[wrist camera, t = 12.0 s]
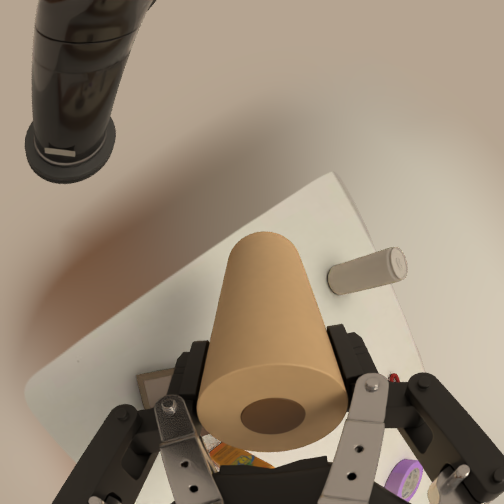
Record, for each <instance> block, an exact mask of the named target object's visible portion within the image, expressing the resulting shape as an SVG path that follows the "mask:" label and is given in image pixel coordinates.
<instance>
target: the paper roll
mask: <svg viewBox="0 0 504 504" xmlns="http://www.w3.org/2000/svg"><path fill="white" fill-rule="evenodd" d="M347 408H348V395H347V392H346V388H345V385H344V382H343V379H342V376H341V373H340V370H339V367H338V364H337V360H336V357H335V354H334V351H333V348H332V345H331V342H330V340H329V337H328V334H327V331H326V328H325V325H324V322H323V319H322V316H321V313H320V311H319V308H318V305H317V302H316V299H315V296H314V294H313V291H312V288H311V285H310V283H309V280H308V277H307V274H306V272H305V269H304V266H303V264H302V261H301V258H300V256H299V253H298V251H297V249H296V248H295V246H294V245H293V244H292V243H291V242H290V241H289V240H288V239H287V238H285V237H284V236H282V235H280V234H277V233H273V232H257V233H253V234H250V235H248V236H246V237H244V238H243V239H241V240H240V241H239V242H238V243H237V244H236V245H235V246H234V248H233V249H232V251H231V253H230V255H229V259H228V263H227V267H226V272H225V276H224V280H223V285H222V289H221V294H220V298H219V302H218V307H217V311H216V316H215V321H214V325H213V330H212V334H211V339H210V344H209V348H208V353H207V358H206V362H205V367H204V372H203V377H202V381H201V386H200V391H199V396H198V401H197V415H198V418H199V421H200V423H201V424H202V426H203V427H204V428H205V430H206V431H207V432H208V433H209V434H211V435H212V436H213V437H215V438H216V439H218V440H219V441H221V442H223V443H225V444H228V445H230V446H233V447H236V448H239V449H243V450H248V451H256V452H280V451H287V450H292V449H297V448H300V447H304V446H306V445H309V444H312V443H314V442H316V441H318V440H320V439H322V438H323V437H325V436H326V435H328V434H329V433H331V432H332V431H333V430H334V429H335V428H336V427H337V426H338V425H339V424H340V423H341V421H342V420H343V418H344V416H345V414H346V412H347Z"/></svg>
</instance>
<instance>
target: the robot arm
mask: <svg viewBox="0 0 504 504" xmlns="http://www.w3.org/2000/svg"><path fill="white" fill-rule="evenodd" d="M155 1H156V0H39V1H38V5H37V11H36V18H35V27H34V37H33V53H32V110H33V111H32V112H33V128H34V145H35V149H36V152H37V154H38V155H39V156H40V158H41V159H42V160H43V161H45V162H46V163H48V164H50V165H53V166H56V167H65V168H66V167H74V166H78V165H81V164H83V163H85V162H87V161H89V160H90V159H92V158H93V157H94V156H95V155H96V154H97V153H98V152H99V151H100V150H101V148H102V146H103V144H104V142H105V138H106V134H107V126H108V122H109V119H110V115H111V111H112V108H113V104H114V100H115V97H116V93H117V89H118V87H119V83H120V80H121V77H122V74H123V71H124V68H125V65H126V62H127V59H128V57H129V54H130V51H131V48H132V45H133V43H134V40H135V38H136V35H137V33H138V30H139V28H140V26H141V23H142V21H143V19H144V17H145V14H146V12H147V11H148V10H149V8H150V7H151V6H152V5H153V4H154V3H155ZM327 334H328V337H329V340H330V342H331V345H332V348H333V351H334V354H335V357H336V360H337V364H338V367H339V370H340V373H341V376H342V379H343V382H344V385H345V388H346V392H347V395H348V408H347V412H349V413H348V417H347V419H346V421H345V424H344V427H343V431H342V434H341V438H340V441H339V444H338V448H337V451H336V454H335V457H334V460H333V462H328V461H327V456H322V457H316V458H310V459H303V460H298V461H295V462H292V463H289V464H286V465H283V466H280V467H277V468H265V467H258V466H251V465H220V471H219V472H217V470H216V468H215V466H214V464H213V462H212V459H211V457H210V455H209V452H208V450H207V447H206V445H205V443H204V440H203V438H202V435H201V429H202V427H203V426H202V424H201V423H200V421H199V418H198V415H197V401H198V396H199V391H200V386H201V381H202V377H203V372H204V367H205V362H206V358H207V353H208V348H209V344H210V343H209V341H208V340H207V341H194V342H193V343H192V346H191V349H190V352H183V354H182V355H181V356H180V357H179V358H178V359H177V362H176V366H175V369H174V372H173V375H172V378H171V381H170V384H169V388H168V391H167V394H166V396H164V397H162V398H160V399H159V400H158V401H157V402H156V404H155V406H154V407H153V408H150V409H145V410H140V411H137V410H136V409H135V407H134V406H132V405H129V404H122V405H119V406H117V407H115V408H114V409H113V410H112V411H111V412H110V414H109V415H108V417H107V418H106V420H105V421H104V423H103V424H102V426H101V427H100V429H99V430H98V432H97V433H96V435H95V436H94V438H93V439H92V441H91V442H90V444H89V445H88V447H87V449H86V450H85V452H84V453H83V455H82V456H81V458H80V459H79V461H78V463H77V464H76V466H75V467H74V469H73V470H72V472H71V474H70V476H69V477H68V478H67V480H66V482H65V483H64V485H63V486H62V488H61V490H60V491H59V493H58V494H57V496H56V498H55V499H54V501H53V503H52V504H134V503H135V501H136V499H137V497H138V495H139V493H140V491H141V489H142V486H143V484H144V482H145V480H146V478H147V476H148V474H149V472H150V470H151V468H152V466H153V464H154V462H155V459H156V457H157V455H158V453H159V452H161V456H162V459H163V463H164V467H165V470H166V474H167V477H168V480H169V484H170V487H171V490H172V493H173V496H174V500H175V501H174V502H172V503H171V504H411V503H409V502H407V501H406V500H404V499H402V498H400V497H399V496H397V495H395V494H394V493H392V492H390V491H389V490H387V489H385V488H384V487H382V486H381V485H379V484H378V483H376V482H374V479H375V475H376V470H377V466H378V461H379V456H380V451H381V446H382V441H383V435H384V429H385V428H397V429H398V431H399V432H400V434H401V435H402V437H403V438H404V440H405V441H406V443H407V444H408V446H409V447H410V449H411V450H412V452H413V453H414V455H415V456H416V458H417V459H418V461H419V463H420V464H421V466H422V467H423V469H424V470H425V472H426V473H427V475H428V476H429V478H430V480H431V481H432V484H431V485H430V487H429V489H428V493H427V496H428V499H429V502H430V504H489V503H490V502H491V501H493V500H494V499H495V498H497V497H498V496H499V495H500V494H501V493H503V492H504V455H503V454H502V453H501V452H500V450H499V449H498V448H497V447H496V446H495V444H494V443H493V442H492V441H491V439H490V438H489V437H488V436H487V435H486V434H485V432H484V431H483V430H482V429H481V428H480V426H479V425H478V424H477V423H476V422H475V421H474V420H473V419H472V417H471V416H470V415H469V414H468V413H467V411H466V410H465V409H464V408H463V407H462V406H461V405H460V404H459V402H458V401H457V400H456V399H455V398H454V397H453V396H452V395H451V393H450V392H449V391H448V390H447V389H446V388H445V387H444V386H443V385H442V384H441V382H439V380H438V379H437V378H436V377H435V376H433V375H432V374H429V373H417V374H415V375H413V376H412V377H411V378H410V379H409V381H408V382H391V381H388V380H387V378H386V377H384V376H383V375H381V374H379V373H378V371H377V369H376V367H375V365H374V363H373V360H372V358H371V356H370V354H369V352H368V350H367V348H366V346H365V344H364V342H363V340H362V338H361V337H360V336H359V335H357V334H356V333H355V332H352V333H347V332H346V330H345V328H344V326H343V324H338V325H332V326H327Z"/></svg>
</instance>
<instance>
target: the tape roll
mask: <svg viewBox="0 0 504 504" xmlns="http://www.w3.org/2000/svg"><path fill="white" fill-rule="evenodd" d="M422 473H423V467H422V466H421V464H420V463H419V461H418V460H408V459H404V460H402V461H400V462H399V463H398V464H397V465H396V466H395V468H394V469H393V470H392V472H391V474H390V476H389V478H388V480H387V482H386V485H385V489H387V490H389V491H390V492H392V493H394V494H395V495H397V496H399V497H400V498H402V499H404V500H406V501H407V502H408V501H409V500H410V499H411V498H412V497H413V495H414V494H415V492H416V490H417V488H418V486H419V484H420V481H421V478H422Z"/></svg>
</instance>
